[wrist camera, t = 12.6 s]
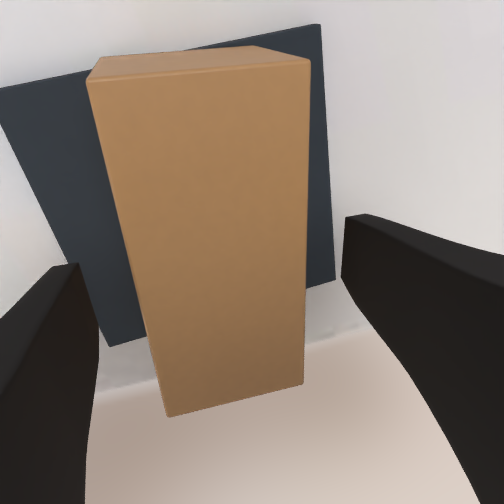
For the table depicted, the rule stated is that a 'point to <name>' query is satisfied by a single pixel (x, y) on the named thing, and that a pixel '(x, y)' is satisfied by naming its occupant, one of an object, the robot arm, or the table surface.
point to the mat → (99, 189)
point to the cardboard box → (212, 212)
